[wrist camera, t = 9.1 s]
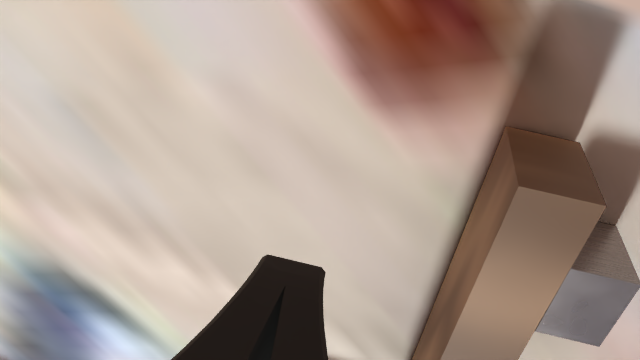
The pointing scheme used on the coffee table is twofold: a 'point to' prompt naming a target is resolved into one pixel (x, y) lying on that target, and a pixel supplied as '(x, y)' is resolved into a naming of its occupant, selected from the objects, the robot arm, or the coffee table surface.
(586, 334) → the leg catch
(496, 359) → the folding leg
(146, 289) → the coffee table surface
